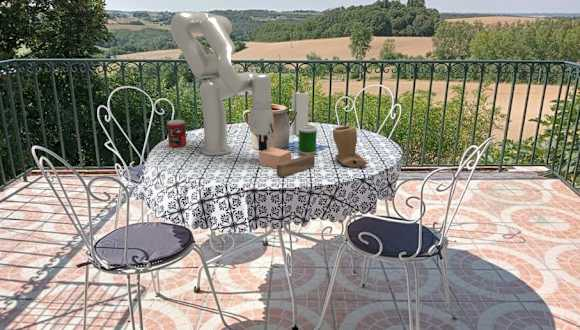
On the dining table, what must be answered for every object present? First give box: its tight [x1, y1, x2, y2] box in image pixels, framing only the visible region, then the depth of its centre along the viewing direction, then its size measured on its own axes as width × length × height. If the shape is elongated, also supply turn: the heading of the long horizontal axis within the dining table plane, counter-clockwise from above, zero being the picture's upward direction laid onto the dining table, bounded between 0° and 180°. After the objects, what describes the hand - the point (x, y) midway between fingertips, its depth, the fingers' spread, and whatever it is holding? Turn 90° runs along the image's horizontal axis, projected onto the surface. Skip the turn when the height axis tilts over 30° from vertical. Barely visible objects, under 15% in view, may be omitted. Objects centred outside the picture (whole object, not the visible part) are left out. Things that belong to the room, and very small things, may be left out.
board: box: [276, 154, 316, 178], centre depth 170 cm, size 3×18×4 cm, turn 136°
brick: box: [258, 147, 292, 170], centre depth 178 cm, size 10×8×6 cm
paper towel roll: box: [291, 91, 310, 137], centre depth 220 cm, size 7×6×21 cm
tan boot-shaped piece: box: [332, 125, 368, 168], centre depth 178 cm, size 15×12×15 cm
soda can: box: [298, 124, 318, 156], centre depth 190 cm, size 8×8×12 cm
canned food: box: [166, 119, 187, 148], centre depth 202 cm, size 8×8×11 cm
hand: (262, 150), depth 182 cm, fingers closed
